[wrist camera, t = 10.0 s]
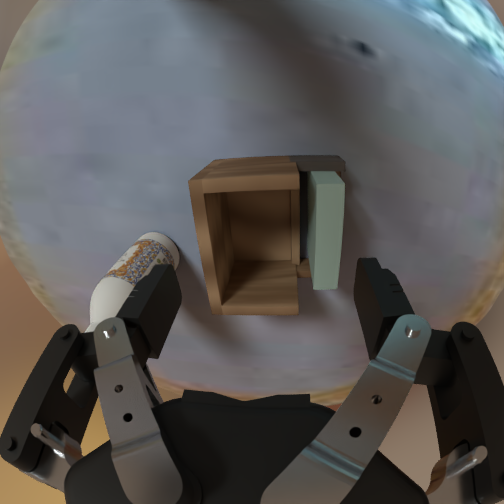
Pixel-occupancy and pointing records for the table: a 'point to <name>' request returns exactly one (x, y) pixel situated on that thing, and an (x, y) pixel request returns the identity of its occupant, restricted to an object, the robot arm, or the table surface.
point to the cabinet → (253, 231)
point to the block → (325, 227)
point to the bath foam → (130, 274)
